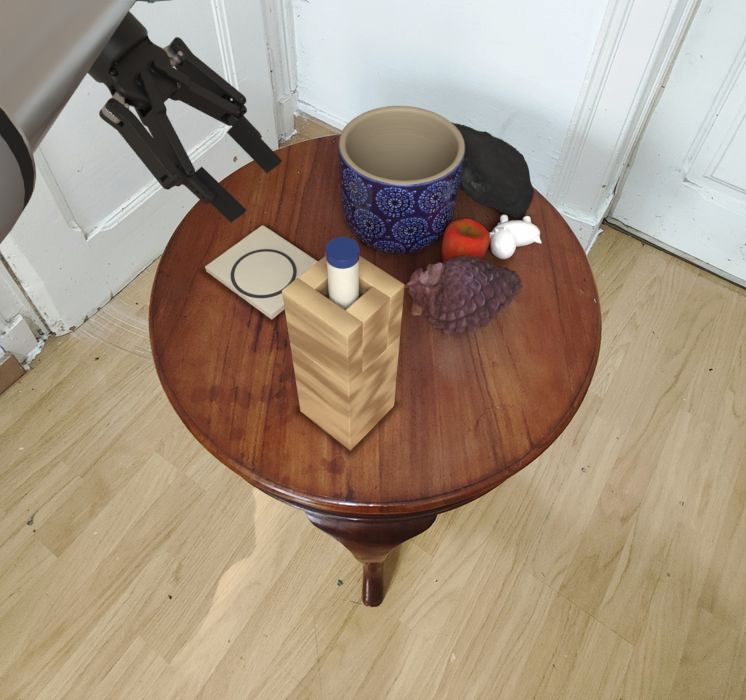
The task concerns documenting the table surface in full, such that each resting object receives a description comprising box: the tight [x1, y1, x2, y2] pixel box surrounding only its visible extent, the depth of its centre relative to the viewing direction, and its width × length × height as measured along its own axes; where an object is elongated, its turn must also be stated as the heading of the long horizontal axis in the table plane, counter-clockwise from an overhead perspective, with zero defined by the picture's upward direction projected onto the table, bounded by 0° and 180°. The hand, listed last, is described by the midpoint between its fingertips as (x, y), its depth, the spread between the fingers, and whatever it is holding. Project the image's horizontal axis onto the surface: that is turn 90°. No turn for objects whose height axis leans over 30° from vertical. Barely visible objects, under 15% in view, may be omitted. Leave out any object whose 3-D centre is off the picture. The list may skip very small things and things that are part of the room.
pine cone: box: [404, 256, 523, 336], centre depth 81 cm, size 18×10×10 cm
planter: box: [337, 105, 465, 255], centre depth 88 cm, size 16×17×15 cm
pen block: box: [282, 255, 405, 451], centre depth 67 cm, size 8×8×22 cm
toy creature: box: [489, 214, 543, 260], centre depth 90 cm, size 5×8×6 cm
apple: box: [441, 218, 491, 263], centre depth 86 cm, size 6×6×8 cm
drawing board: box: [204, 224, 319, 320], centre depth 88 cm, size 11×13×1 cm
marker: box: [324, 236, 360, 311], centre depth 59 cm, size 3×3×13 cm
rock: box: [450, 121, 535, 221], centre depth 92 cm, size 15×14×7 cm
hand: (257, 190), depth 74 cm, fingers open, 9 cm apart
